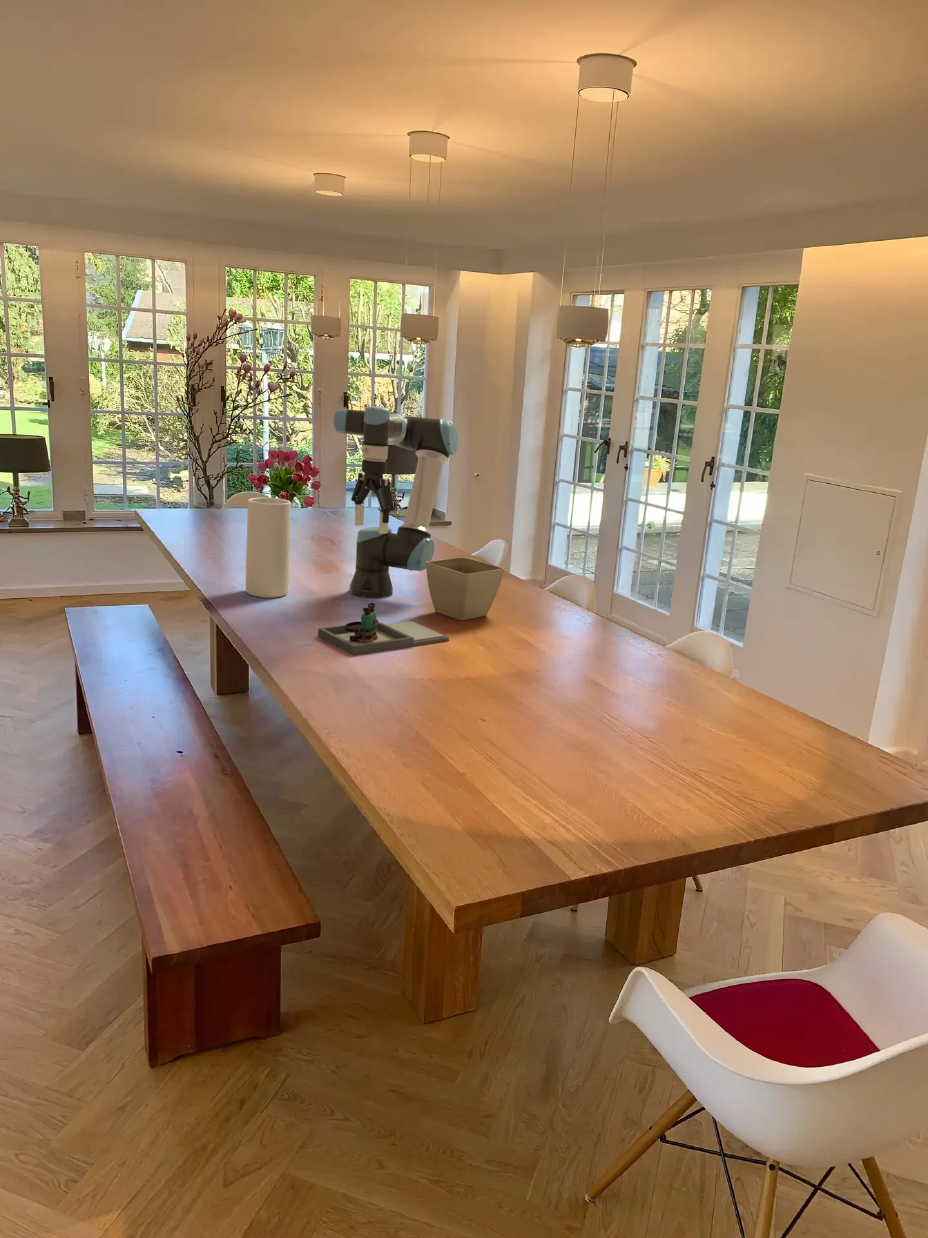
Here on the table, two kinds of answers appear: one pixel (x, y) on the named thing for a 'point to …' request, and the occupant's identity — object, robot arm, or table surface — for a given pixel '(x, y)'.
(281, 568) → the vase
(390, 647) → the case
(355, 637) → the binoculars
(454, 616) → the flower pot
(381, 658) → the table surface
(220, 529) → the table surface
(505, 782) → the table surface
